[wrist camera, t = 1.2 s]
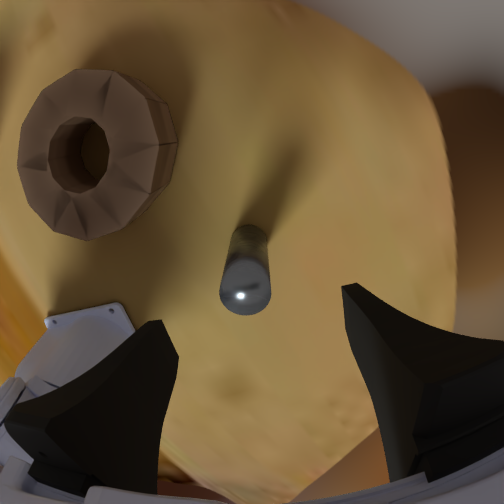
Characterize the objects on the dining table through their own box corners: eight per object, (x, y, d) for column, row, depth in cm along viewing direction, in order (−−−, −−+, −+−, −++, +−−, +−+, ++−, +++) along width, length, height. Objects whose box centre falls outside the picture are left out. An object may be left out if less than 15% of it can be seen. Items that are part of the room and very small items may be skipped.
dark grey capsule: (236, 262, 21) (228, 319, 15) (226, 229, 20) (212, 276, 14) (270, 253, 21) (276, 309, 15) (261, 220, 20) (264, 264, 14)
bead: (76, 235, 21) (48, 255, 17) (39, 115, 17) (5, 117, 13) (195, 195, 20) (180, 210, 16) (153, 55, 16) (130, 40, 12)
